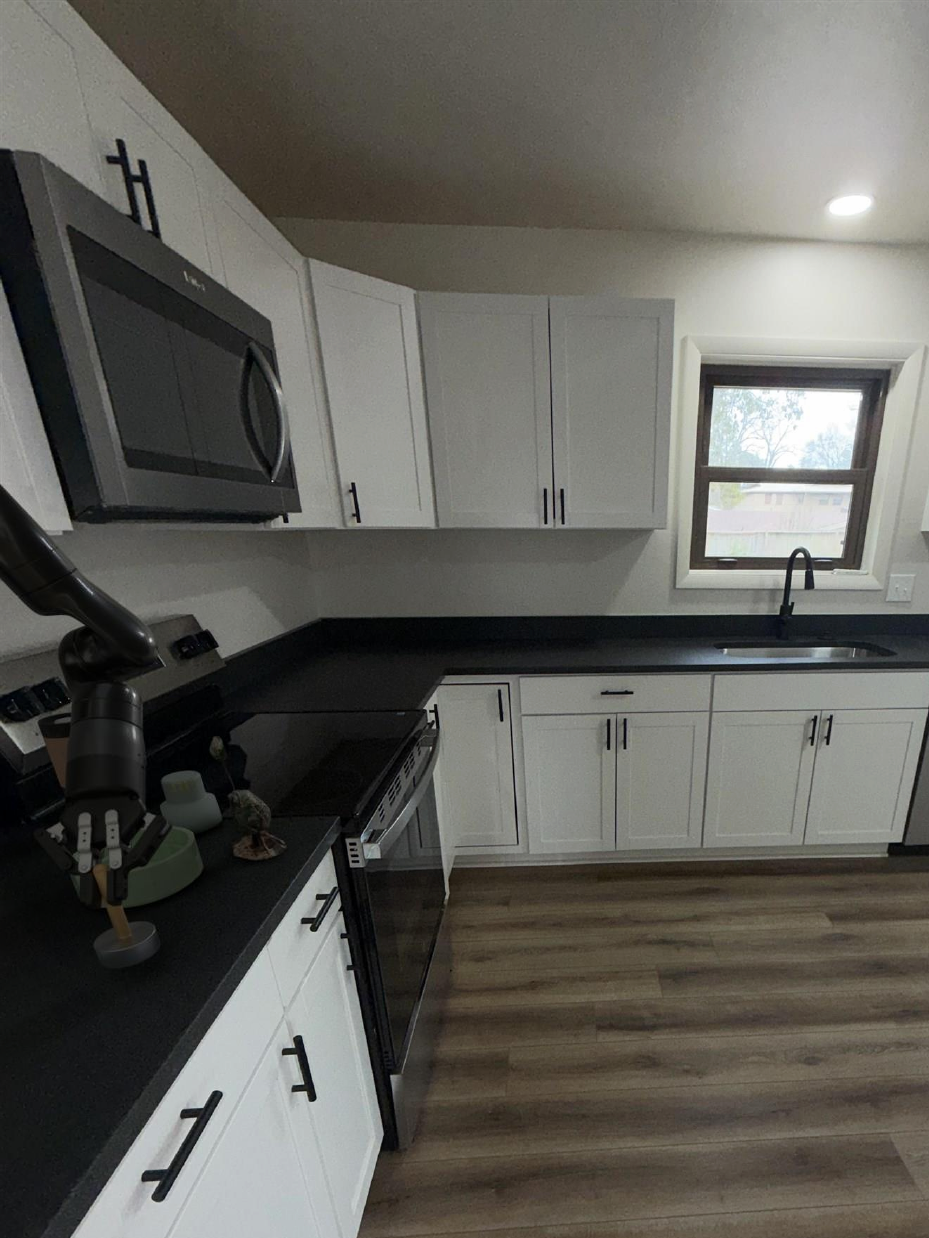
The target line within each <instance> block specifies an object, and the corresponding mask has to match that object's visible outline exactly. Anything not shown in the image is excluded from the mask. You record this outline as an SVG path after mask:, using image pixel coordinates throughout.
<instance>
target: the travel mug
mask: <svg viewBox="0 0 929 1238" xmlns="http://www.w3.org/2000/svg"><path fill="white" fill-rule="evenodd" d="M37 725H38V728H39V731H40V734H41V737H42V740H43V742H44V744H45V747H46V750H47V753H48V756H49V758H50V760H51V764H52V766H53V770H54V771H55V774H56V777H57V780H58V782H59V785H60V787H61V790H62V792H63V795H65V783H66V760H67V744H68V739H69V736H70V729H71V711H69V712H62V713H56V714H51V715H48V716H45V717H42V718H40V719H38V720H37Z"/></svg>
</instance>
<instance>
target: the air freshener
mask: <svg viewBox="0 0 929 1238" xmlns="http://www.w3.org/2000/svg"><path fill="white" fill-rule="evenodd" d="M160 784H161V788H162V790H163V794H164V797H165V800H164V801H163V802H162V803H161V804H160V805H159V808H160V812H161V816H163V817H164V818H166V819H167V820H168V821H169V822H170V823H171V824H172V826H176V827H182V828H186V829H188V830H190V831H192V832H193V834H194V835H197V834H201V833H204V832H207V831H209V830H211V829H213V828H215V827H216V826H217V825H218V824H220V823H221V822H222V820H223V816H222V813H221V809H220V807H219V804H218V801H217V799H216V796H215V794H213V793H210V792H206V789H205V786H204V783H203V779H202V776H201V773H199V772H198V771H195V770H181V771H176V772H172V773H169V774H166V775H165V776H163V777H162V778H161V780H160Z"/></svg>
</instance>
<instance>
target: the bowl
mask: <svg viewBox="0 0 929 1238" xmlns="http://www.w3.org/2000/svg"><path fill="white" fill-rule="evenodd" d="M144 831H145V830H144V827H142V828H141V829H140V830H139V832H138V833H137V834H136V835H135V836H134V838H133V839H132V848H133V847H134V846H135V844H136V843H137V841H138V840H139V838H140V837H141V836H142V834H143V833H144ZM72 856H73V857H74V858H75V860H76V861H77V862H79V853H78V851H76V852H75V853H73V854H72ZM102 864H105V865H106V866H107V867H108V868H109V871H110V866H109V851H108V848H107V847H105V851H104V858H103V859H102ZM203 869H204V864H203V861H202V857H201V854H200V851H199V848H198V844H197V841H196V838H195V834H193V832H192V831H190V830H188V829H186V828H182V827H176V826H172V829H171V831H170V832H169V833H168V835H167V836H166V838H165V839H164V841H163V842H162V844H161V845H160V847H159V848H158V849H157V851H156V852H155V854H154V855H153V857H152V858H151V860H150V861H149V863H148V864H147V865H146V866H144V867H137V868H134V869H132V870H131V871H130V872H129V874H128V896H127V899H126V900H122V907H123V909H128V908H134V907H141V906H144V905H149V904H151V903H155V902H157V901H160V900H163V899H166V898H168V897H170V896H172V895H175V894H176V893H178V892H180V891H181V890H184V889H185V888H186V887H188V886H189V885H190V884H192V883H193V882H194V881H195V880H196V879H197V878H198V877H199V876H201V874H202V872H203ZM68 874H69V877H70V879H71V881H72V883H73V886H74V889H75V891H76V894H77V896H78V897H79V894H80V876H79V875H77V876H74V875H71V874H70V873H68ZM100 909H107V908H106V906H105V903H104V900H103V897H102V907H101V908H100Z"/></svg>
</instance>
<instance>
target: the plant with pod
mask: <svg viewBox="0 0 929 1238" xmlns="http://www.w3.org/2000/svg"><path fill="white" fill-rule="evenodd" d="M209 753H210V755H211V756H212V758H214V759H215V760H216V761H218V762H221V765H222V767H223V768H224V771H225V773H226V775H227V777H228V779H229V782H230V784H231V786H232V789H233V791H232V792H231V793H229V794H228V795H227V800H228V801H229V805H230V809H231V812H230V813H231V815H232V819H233V822H234V828H235V830H236V831H235V832H236V833H237V834H238V835H239V836H240V837H242V838H241V840H239V841H236V842H234V843H232V848H233V852H232V855H233V856H234V857H238V858H241V859H247V860H250V861H257V862H258V861H264V860H269V858H271V859H272V858H273V857H276V856H279V855H282V854H284V852H285V851H286V850H288V849H287V848H288V847H287V845H286V842H284V841H285V840H283V839H280V837H278V836H277V835H273V834H270V833H268V832H267V831H266V830H267V829H269V828H270V824H271V822H272V814H271V809H270V808H269V806H267V804H265V802H264V801H263V800H262V799H261V798H259V797H258V796H257V795H255V794H254V793H252V792H251V791H250V790H248V789H236V787H235V785H234V782H233V779H232V777H231V775H230V773H229V770H228V769H227V763H226V761H225V760H227V755H228V754H227V751H226V748H225V745H224V741H223V739H222V738H221V737H220V736H217V735H216V736H213V737H212V740H211V742H210V746H209Z"/></svg>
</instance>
